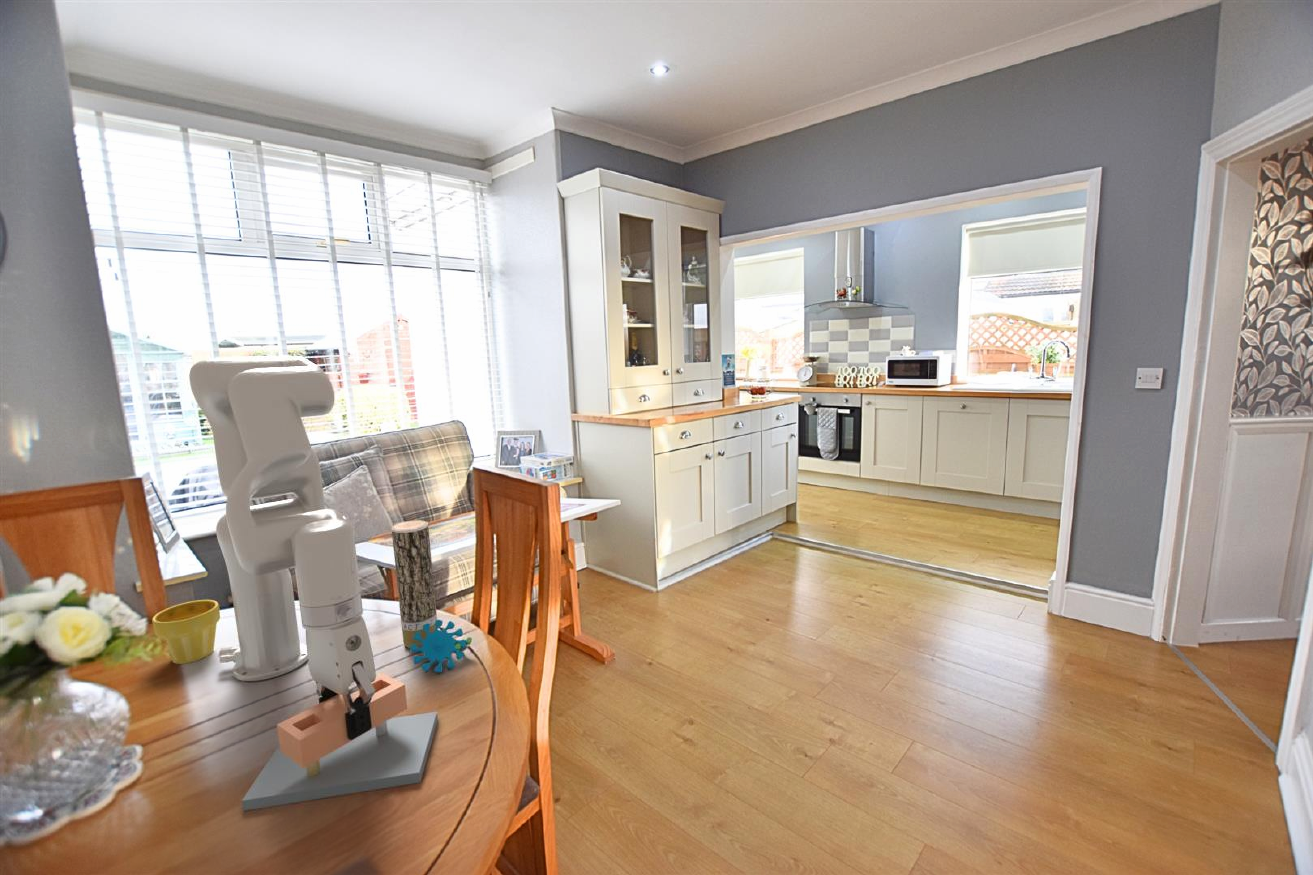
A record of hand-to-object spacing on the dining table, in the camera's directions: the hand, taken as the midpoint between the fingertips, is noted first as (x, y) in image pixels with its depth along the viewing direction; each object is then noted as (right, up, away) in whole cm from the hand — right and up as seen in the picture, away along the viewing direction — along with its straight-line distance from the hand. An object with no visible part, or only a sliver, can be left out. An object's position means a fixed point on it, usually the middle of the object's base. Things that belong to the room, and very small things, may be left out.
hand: (346, 724), depth 84 cm
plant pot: (-49, -3, +34) cm, 59 cm away
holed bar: (0, -1, 0) cm, 1 cm away
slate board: (0, -6, +1) cm, 6 cm away
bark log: (-4, -1, +36) cm, 36 cm away
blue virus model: (+4, -2, +27) cm, 28 cm away
